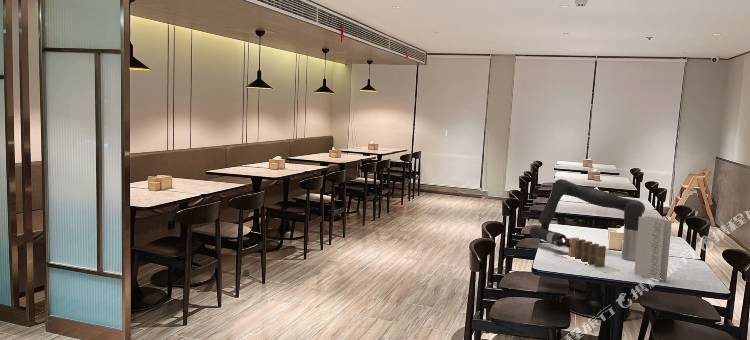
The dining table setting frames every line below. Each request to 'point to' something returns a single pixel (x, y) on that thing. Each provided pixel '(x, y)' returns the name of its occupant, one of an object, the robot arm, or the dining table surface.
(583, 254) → the tile
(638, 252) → the brochure
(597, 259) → the tile
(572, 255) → the tile
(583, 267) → the dining table surface
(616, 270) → the mat
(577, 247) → the tile
